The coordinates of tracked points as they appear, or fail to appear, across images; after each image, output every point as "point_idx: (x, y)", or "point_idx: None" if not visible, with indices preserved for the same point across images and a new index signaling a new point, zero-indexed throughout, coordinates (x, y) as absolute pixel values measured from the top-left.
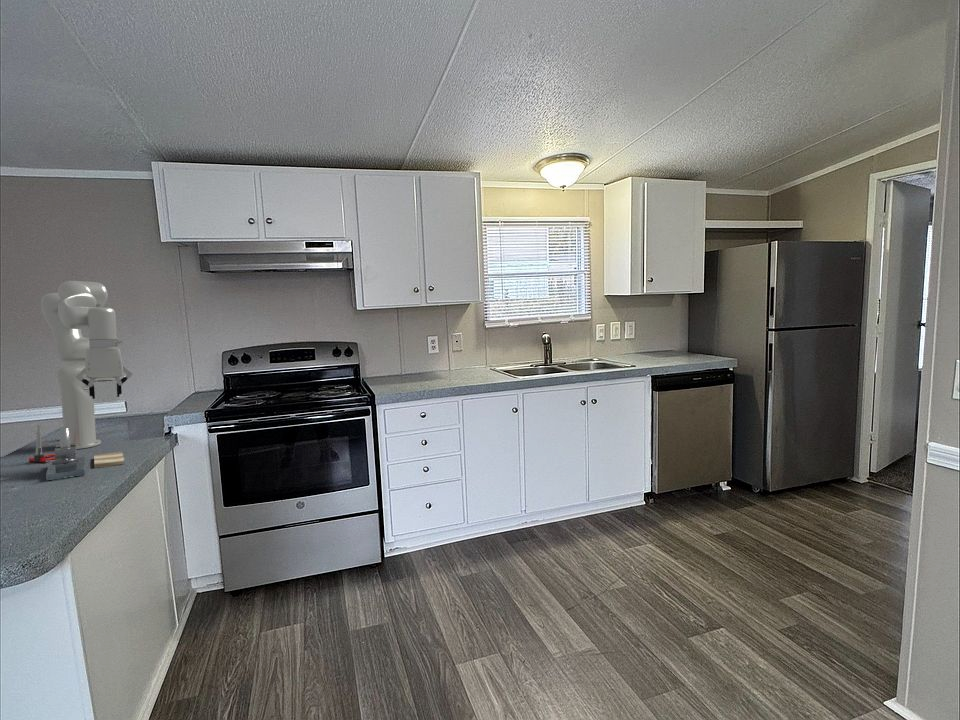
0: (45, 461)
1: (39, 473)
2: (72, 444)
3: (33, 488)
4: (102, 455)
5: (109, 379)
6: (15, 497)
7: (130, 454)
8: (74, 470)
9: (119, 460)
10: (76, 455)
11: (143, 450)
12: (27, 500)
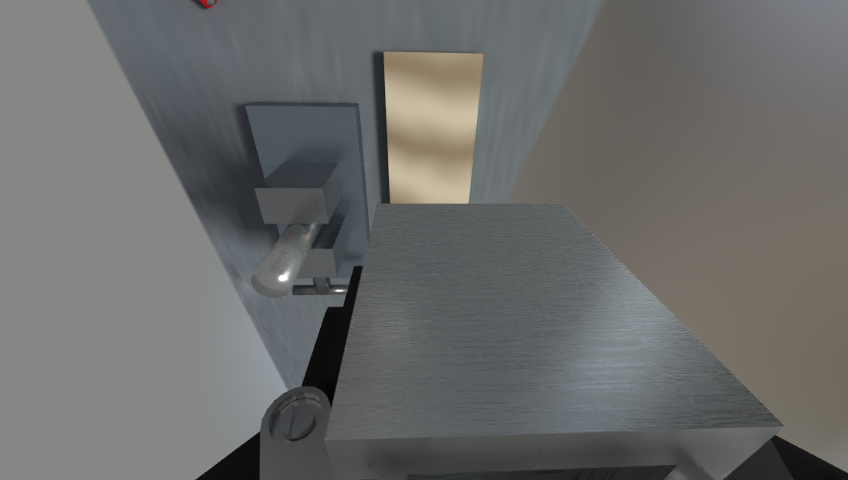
0: (208, 6)
1: (250, 175)
2: (315, 211)
3: (285, 305)
4: (412, 80)
5: (654, 433)
6: (272, 341)
7: (507, 62)
8: (349, 274)
9: (455, 201)
10: (334, 178)
11: (566, 7)
12: (299, 363)
